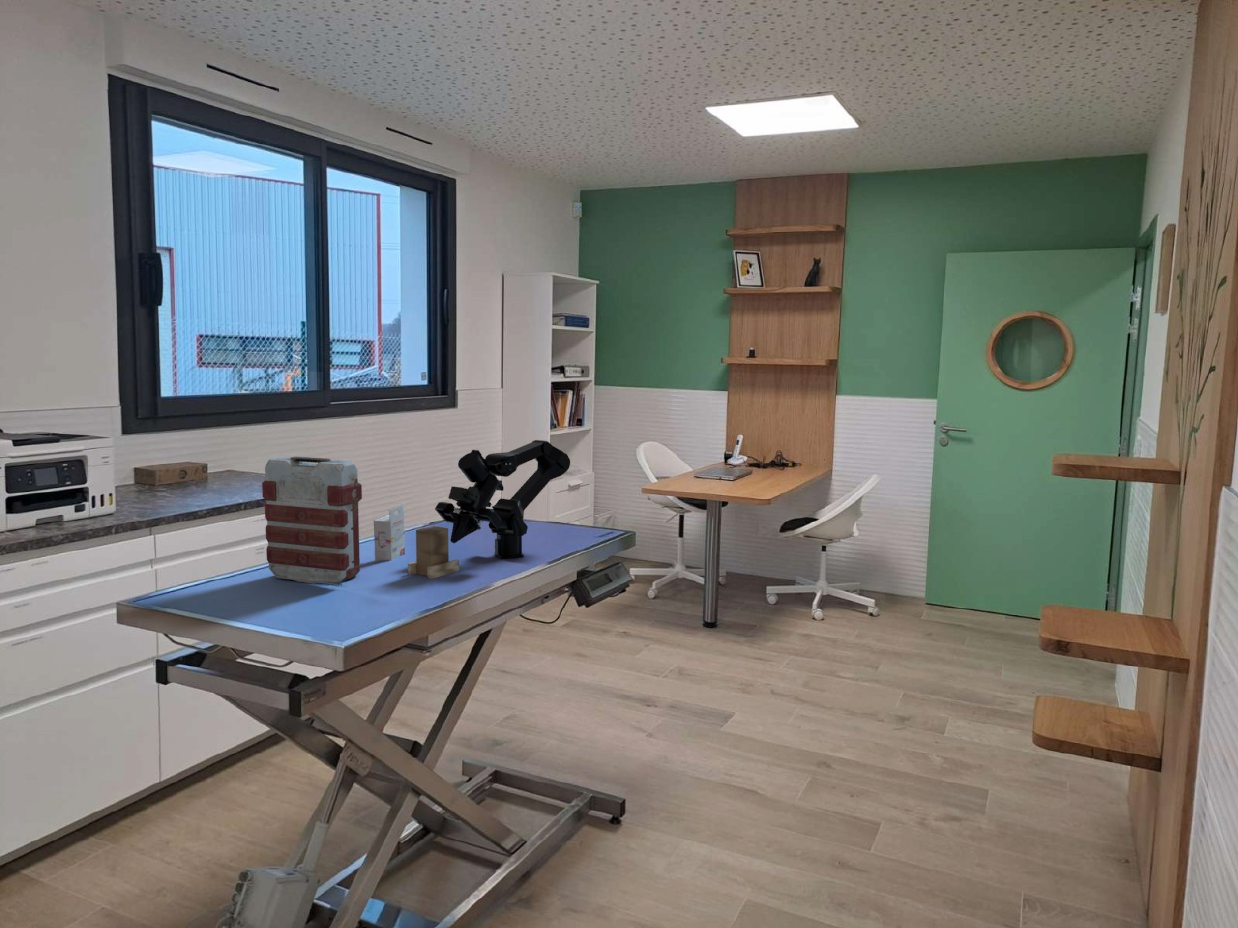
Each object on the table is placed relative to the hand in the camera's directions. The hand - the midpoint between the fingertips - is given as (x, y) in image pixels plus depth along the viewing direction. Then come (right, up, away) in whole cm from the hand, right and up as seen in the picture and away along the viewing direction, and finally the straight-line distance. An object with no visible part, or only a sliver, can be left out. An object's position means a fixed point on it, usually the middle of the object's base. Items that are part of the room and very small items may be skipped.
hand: (452, 542), depth 228 cm
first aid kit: (-32, -9, -8) cm, 34 cm away
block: (-4, -7, -5) cm, 10 cm away
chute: (-5, -9, -6) cm, 12 cm away
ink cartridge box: (-19, -6, +12) cm, 23 cm away
